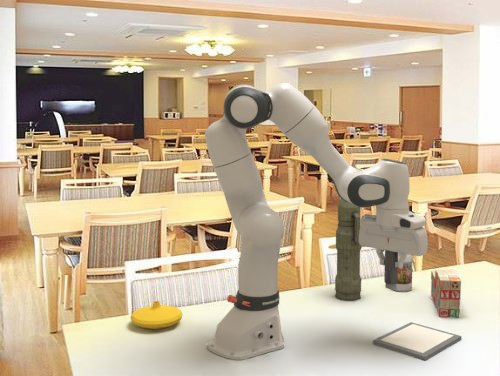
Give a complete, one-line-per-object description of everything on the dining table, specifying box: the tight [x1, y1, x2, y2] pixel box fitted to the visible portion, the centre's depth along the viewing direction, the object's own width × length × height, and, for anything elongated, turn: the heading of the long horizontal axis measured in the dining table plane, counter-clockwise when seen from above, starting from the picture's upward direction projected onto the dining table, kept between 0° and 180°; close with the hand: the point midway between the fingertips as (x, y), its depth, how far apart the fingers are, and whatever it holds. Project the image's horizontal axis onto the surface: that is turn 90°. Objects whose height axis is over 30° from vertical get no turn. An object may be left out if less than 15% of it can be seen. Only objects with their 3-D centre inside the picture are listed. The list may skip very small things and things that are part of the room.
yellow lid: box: [130, 300, 183, 330], centre depth 183 cm, size 16×16×7 cm
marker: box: [383, 238, 398, 290], centre depth 167 cm, size 4×4×14 cm
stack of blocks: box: [430, 269, 462, 319], centre depth 196 cm, size 21×6×12 cm, turn 170°
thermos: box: [334, 197, 363, 302], centre depth 205 cm, size 9×12×35 cm
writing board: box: [372, 322, 462, 361], centre depth 167 cm, size 20×16×1 cm
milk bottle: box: [391, 253, 413, 293], centre depth 215 cm, size 8×8×20 cm
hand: (391, 266), depth 167 cm, fingers closed on marker, 4 cm apart
